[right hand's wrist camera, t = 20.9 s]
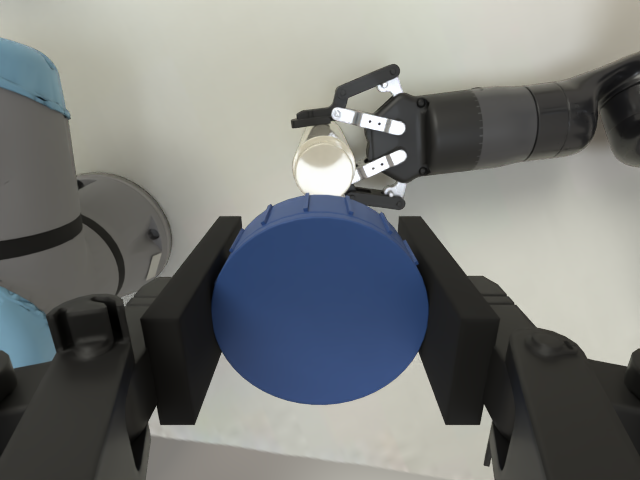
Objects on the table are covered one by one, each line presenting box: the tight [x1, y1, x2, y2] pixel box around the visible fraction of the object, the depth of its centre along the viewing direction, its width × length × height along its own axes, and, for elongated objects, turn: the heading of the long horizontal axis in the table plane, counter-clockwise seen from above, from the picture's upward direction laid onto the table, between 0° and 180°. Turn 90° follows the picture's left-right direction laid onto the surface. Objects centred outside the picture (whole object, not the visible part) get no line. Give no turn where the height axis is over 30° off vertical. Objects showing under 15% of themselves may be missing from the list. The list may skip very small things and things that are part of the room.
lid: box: [211, 193, 429, 405], centre depth 11 cm, size 6×6×2 cm
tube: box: [292, 121, 356, 197], centre depth 36 cm, size 5×5×19 cm
